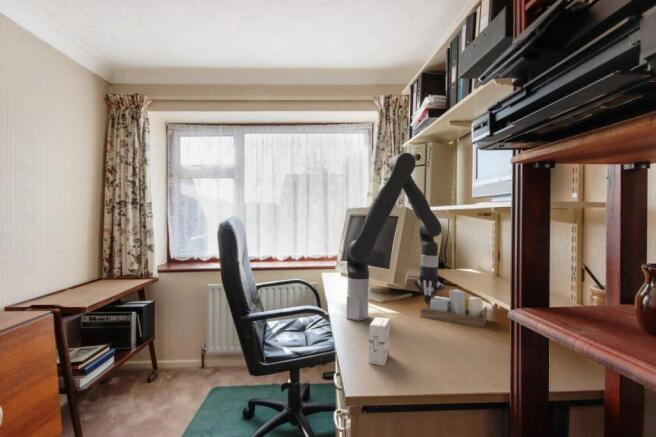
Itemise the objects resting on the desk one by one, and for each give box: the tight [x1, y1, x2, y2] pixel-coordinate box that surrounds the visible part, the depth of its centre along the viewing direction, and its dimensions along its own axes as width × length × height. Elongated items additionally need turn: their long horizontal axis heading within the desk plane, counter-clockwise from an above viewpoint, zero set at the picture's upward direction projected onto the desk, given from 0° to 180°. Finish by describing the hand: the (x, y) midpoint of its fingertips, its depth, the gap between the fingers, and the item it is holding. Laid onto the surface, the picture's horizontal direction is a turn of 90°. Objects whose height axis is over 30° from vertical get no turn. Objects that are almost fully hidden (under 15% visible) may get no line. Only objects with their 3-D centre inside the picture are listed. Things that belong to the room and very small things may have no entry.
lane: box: [420, 304, 488, 329], centre depth 142 cm, size 12×25×6 cm, turn 58°
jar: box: [468, 296, 483, 318], centre depth 137 cm, size 5×5×10 cm
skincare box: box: [448, 289, 466, 315], centre depth 141 cm, size 6×4×12 cm
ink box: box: [368, 316, 391, 366], centre depth 101 cm, size 9×5×12 cm, turn 159°
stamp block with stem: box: [430, 295, 449, 313], centre depth 146 cm, size 9×12×7 cm
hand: (428, 303), depth 148 cm, fingers closed
